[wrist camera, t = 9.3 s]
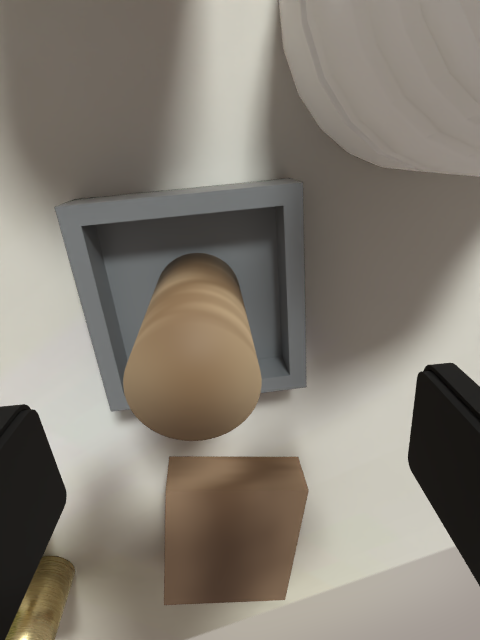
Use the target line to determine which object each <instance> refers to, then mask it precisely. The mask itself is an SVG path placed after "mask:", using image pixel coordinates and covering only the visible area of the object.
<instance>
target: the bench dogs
mask: <svg viewBox="0 0 480 640" xmlns="http://www.w3.org/2000/svg"><path fill="white" fill-rule="evenodd" d="M74 574H75V569H74V566H73V565H72V564H71V563H70V562H69V561H68V560H66V559H64V558H61V557H56V556H45V557H42V558H41V560H40V563H39V565H38V567H37V569H36V572H35V574H34V576H33V578H32V581H31V583H30V585H29V587H28V590H27V592H26V594H25V596H24V599H23V601H22V603H21V605H20V607H19V610H18V612H17V614H16V616H15V619H14V621H13V623H12V625H11V628H10V630H9V632H8V634H7V637H6V639H5V640H55V636H56V633H57V630H58V627H59V623H60V620H61V617H62V613H63V610H64V607H65V603H66V600H67V597H68V594H69V590H70V587H71V584H72V580H73V577H74Z"/></svg>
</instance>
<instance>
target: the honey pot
mask: <svg viewBox="0 0 480 640" xmlns="http://www.w3.org/2000/svg"><path fill="white" fill-rule="evenodd" d="M278 1H279V11H280V21H281V31H282V41H283V50H284V53H285V56H286V59H287V62H288V65H289V68H290V71H291V74H292V77H293V80H294V83H295V86H296V89H297V92H298V95H299V96H300V98H301V99H302V101H303V102H304V104H305V105H306V107H307V109H308V110H309V112H310V113H311V115H312V116H313V118H314V119H315V121H316V123H317V124H318V126H319V127H320V129H321V130H323V131H324V132H325V133H326V134H327V135H328V136H329V137H331V138H332V139H333V140H334V141H335V142H336V143H337V144H339V145H340V146H341V147H342V148H343V149H344V150H345V151H347V152H348V153H349V154H351V155H354V156H356V157H358V158H361V159H363V160H365V161H367V162H370V163H372V164H374V165H377V166H379V167H383V168H393V169H402V170H411V171H422V172H433V173H443V174H454V175H465V176H477V177H480V0H278Z"/></svg>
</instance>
